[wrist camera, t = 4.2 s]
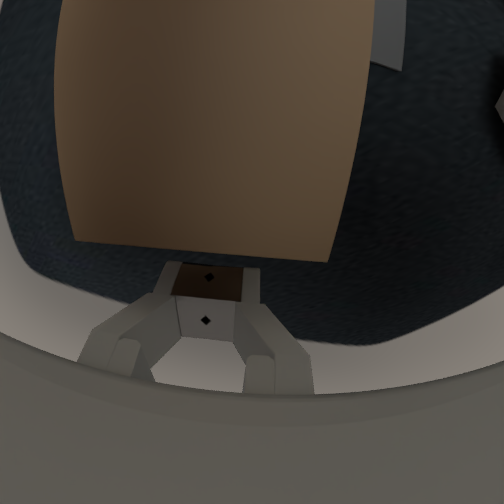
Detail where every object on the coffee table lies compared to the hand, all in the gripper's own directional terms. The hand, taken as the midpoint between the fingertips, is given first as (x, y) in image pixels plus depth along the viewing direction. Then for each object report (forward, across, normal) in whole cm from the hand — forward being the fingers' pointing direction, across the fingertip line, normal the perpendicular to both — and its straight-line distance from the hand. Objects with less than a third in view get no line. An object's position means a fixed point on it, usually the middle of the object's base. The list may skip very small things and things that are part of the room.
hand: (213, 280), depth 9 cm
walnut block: (+7, 0, -6) cm, 9 cm away
